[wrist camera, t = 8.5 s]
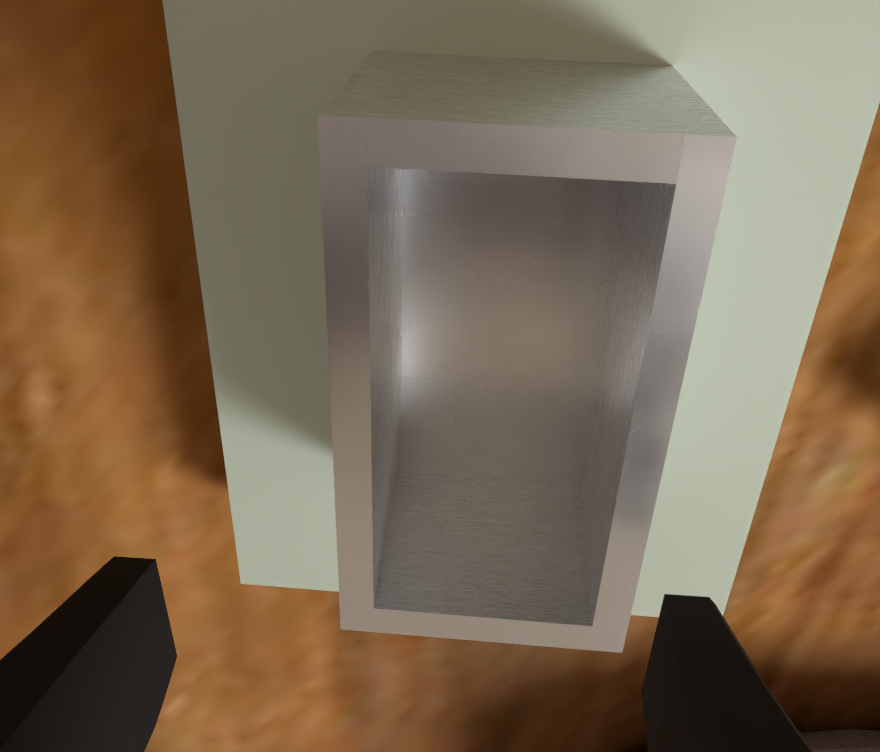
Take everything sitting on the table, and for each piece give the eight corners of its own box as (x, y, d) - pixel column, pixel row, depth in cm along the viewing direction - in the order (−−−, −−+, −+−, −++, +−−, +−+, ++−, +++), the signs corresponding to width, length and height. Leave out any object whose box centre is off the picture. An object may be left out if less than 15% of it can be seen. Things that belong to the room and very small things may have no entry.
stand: (270, 506, 23) (241, 583, 20) (202, -171, 15) (138, -183, 12) (697, 538, 22) (721, 622, 20) (877, -148, 14) (958, -156, 12)
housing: (376, 473, 18) (341, 629, 14) (372, 50, 14) (317, 115, 10) (598, 490, 18) (621, 652, 14) (672, 65, 13) (737, 136, 10)
